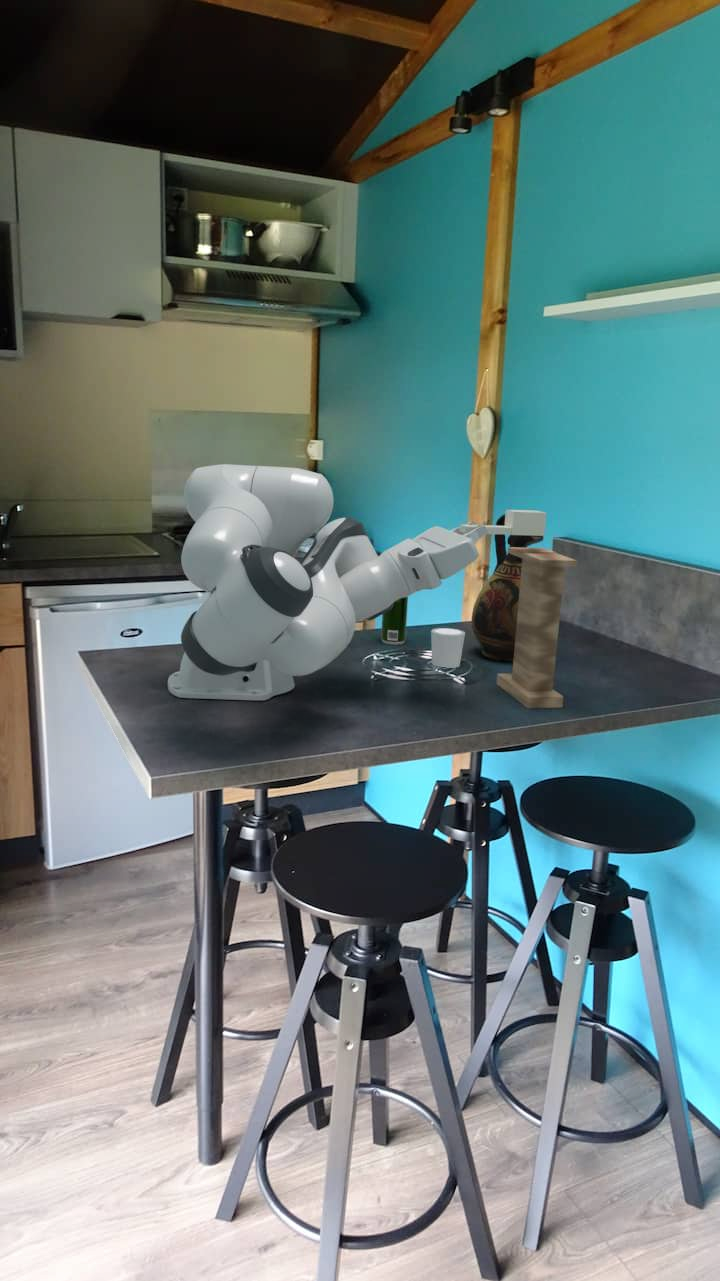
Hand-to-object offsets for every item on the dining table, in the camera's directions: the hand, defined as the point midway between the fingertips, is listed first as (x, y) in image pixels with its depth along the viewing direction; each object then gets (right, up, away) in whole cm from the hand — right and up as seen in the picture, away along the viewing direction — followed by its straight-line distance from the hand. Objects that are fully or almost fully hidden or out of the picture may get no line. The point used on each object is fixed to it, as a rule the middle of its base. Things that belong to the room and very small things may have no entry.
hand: (480, 527), depth 161 cm
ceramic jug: (+9, -23, +36) cm, 44 cm away
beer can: (-14, -20, +42) cm, 49 cm away
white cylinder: (-4, -25, +26) cm, 36 cm away
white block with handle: (+4, -1, +1) cm, 4 cm away
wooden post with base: (+10, -30, +7) cm, 32 cm away
